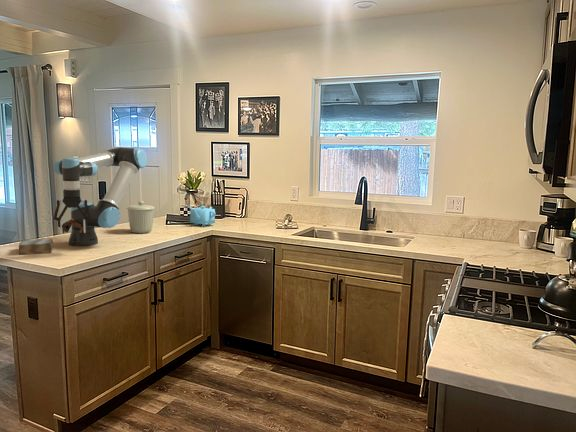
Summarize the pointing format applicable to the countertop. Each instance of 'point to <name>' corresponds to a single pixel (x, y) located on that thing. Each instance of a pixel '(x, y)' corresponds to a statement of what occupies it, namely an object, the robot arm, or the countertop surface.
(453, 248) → the countertop surface
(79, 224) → the brown headphones
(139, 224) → the canister
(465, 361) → the countertop surface
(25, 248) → the walnut plinth
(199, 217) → the teakettle
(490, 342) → the countertop surface
